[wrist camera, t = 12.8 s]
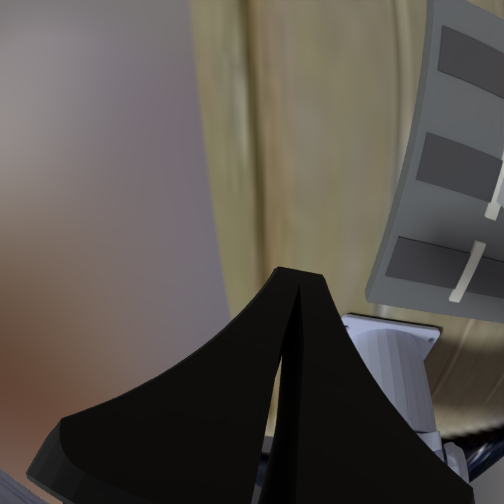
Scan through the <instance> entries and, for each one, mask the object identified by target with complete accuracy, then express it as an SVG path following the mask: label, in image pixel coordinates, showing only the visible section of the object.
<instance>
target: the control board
mask: <svg viewBox="0 0 504 504" xmlns="http://www.w3.org/2000/svg"><path fill="white" fill-rule="evenodd" d="M503 178H504V20H503V19H501V18H499V17H497V16H495V15H493V14H492V13H490V12H488V11H486V10H484V9H482V8H480V7H478V6H476V5H474V4H472V3H469V2H467V1H465V0H427V17H426V30H425V41H424V50H423V59H422V66H421V74H420V81H419V87H418V93H417V99H416V105H415V111H414V116H413V121H412V126H411V131H410V136H409V141H408V146H407V150H406V154H405V159H404V163H403V167H402V171H401V175H400V179H399V183H398V187H397V191H396V195H395V198H394V202H393V205H392V209H391V212H390V216H389V219H388V223H387V226H386V229H385V233H384V236H383V239H382V242H381V245H380V248H379V251H378V255H377V258H376V261H375V263H374V266H373V269H372V272H371V275H370V278H369V281H368V283H367V286H366V289H365V294H366V300H367V302H371V303H377V304H383V305H389V306H395V307H401V308H407V309H413V310H419V311H426V312H432V313H438V314H445V315H451V316H458V317H465V318H471V319H478V320H485V321H492V322H500V323H504V208H503V207H502V206H501V205H500V204H498V203H497V202H496V201H497V198H498V195H499V191H500V188H501V185H502V182H503Z"/></svg>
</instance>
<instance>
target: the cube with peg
mask: <svg viewBox="0 0 504 504" xmlns="http://www.w3.org/2000/svg"><path fill="white" fill-rule="evenodd" d="M496 202H497V203H498V204H500V205H501V206H502V207H503V208H504V178H503V182H502V185H501V188H500V191H499V195H498V198H497V201H496Z"/></svg>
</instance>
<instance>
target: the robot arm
mask: <svg viewBox="0 0 504 504" xmlns="http://www.w3.org/2000/svg"><path fill="white" fill-rule="evenodd" d="M345 325H347V326H348V327H345ZM439 336H440V331H439V329H438V328H435V327H428V326H421V325H414V324H407V323H401V322H394V321H388V320H381V319H375V318H369V317H363V316H357V315H351V314H346V315H344V316H342V318H341V317H340V315H339V313H338V311H337V308H336V306H335V304H334V301H333V299H332V297H331V294H330V291H329V289H328V286H327V283H326V280H325V278H324V277H323V275H321V274H316V273H311V272H306V271H300V270H295V269H290V268H285V267H277V268H275V269H274V270H273V272H272V274H271V276H270V277H269V279H268V280H267V282H266V283H265V284H264V286H263V287H262V288H261V290H260V291H259V292H258V293H257V295H256V296H255V297H254V298H253V299H252V300H251V301H250V302H249V304H248V305H247V306H246V307H245V308H244V309H243V310H242V311H241V312H240V313H239V314H238V315H237V316H236V317H235V318H234V319H233V320H232V321H231V322H230V323H229V324H228V325H227V326H226V327H225V328H224V329H222V330H221V331H220V332H219V333H218V334H217V335H215V336H214V337H213V338H212V339H211V340H209V341H208V342H207V343H206V344H204V345H203V346H202V347H201V348H199V349H198V350H196V351H195V352H194V353H192V354H191V355H190V356H188V357H186V358H185V359H184V360H182V361H181V362H179V363H178V364H176V365H175V366H173V367H172V368H170V369H168V370H167V371H165V372H164V373H162V374H160V375H159V376H157V377H155V378H153V379H151V380H149V381H147V382H145V383H144V384H142V385H140V386H138V387H136V388H134V389H132V390H130V391H128V392H126V393H124V394H122V395H120V396H118V397H116V398H113V399H112V400H109V401H106V402H104V403H101V404H99V405H96V406H94V407H91V408H88V409H86V410H83V411H81V412H78V413H76V414H72V415H70V416H67V417H64V418H62V419H61V420H60V421H59V423H58V424H57V425H56V427H55V428H54V429H53V430H52V431H51V432H50V433H49V435H48V436H47V438H46V439H45V441H44V443H43V444H42V446H41V448H40V449H39V451H38V453H37V454H36V456H35V458H34V460H33V462H32V463H31V465H30V467H29V468H28V470H27V472H26V475H27V478H28V479H29V480H30V481H31V482H33V483H34V484H36V485H37V486H38V487H40V488H41V489H43V490H44V491H46V492H47V493H49V494H50V495H52V496H54V497H55V498H57V499H58V500H60V501H62V502H63V504H251V501H252V496H253V491H254V486H255V481H256V477H257V471H258V466H259V461H260V456H261V451H262V446H263V440H264V435H265V430H266V425H267V419H268V414H269V409H270V403H271V398H272V392H273V387H274V381H275V377H276V374H277V370H278V367H279V364H280V361H281V357H282V364H281V375H280V387H279V398H278V408H277V419H276V426H275V433H274V438H273V443H272V447H271V452H270V456H269V461H268V465H267V469H266V473H265V478H264V482H263V486H262V490H261V494H260V498H259V501H258V504H475V500H474V493H473V488H472V487H471V486H470V485H469V479H468V471H467V465H466V460H465V456H464V453H463V450H462V449H461V448H459V447H458V446H455V444H454V443H452V442H450V443H447V444H444V446H443V452H442V444H441V437H440V431H437V429H436V423H435V416H434V411H433V405H432V400H431V394H430V389H429V384H428V380H427V375H426V370H425V366H424V362H423V361H424V360H425V358H426V357H427V355H428V353H429V352H430V350H431V349H432V347H433V346H434V344H435V342H436V341H437V339H438V337H439ZM430 338H432V339H430ZM0 504H49V503H47V502H45V501H44V500H43V499H41V498H40V497H38V496H37V495H35V494H34V493H32V492H31V491H30V490H28V489H27V488H25V487H24V486H23V485H21V484H20V483H19V482H17V481H16V480H15V479H14V478H12V477H11V476H10V475H8V474H7V473H6V472H5V471H4V470H2V469H1V468H0Z"/></svg>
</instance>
